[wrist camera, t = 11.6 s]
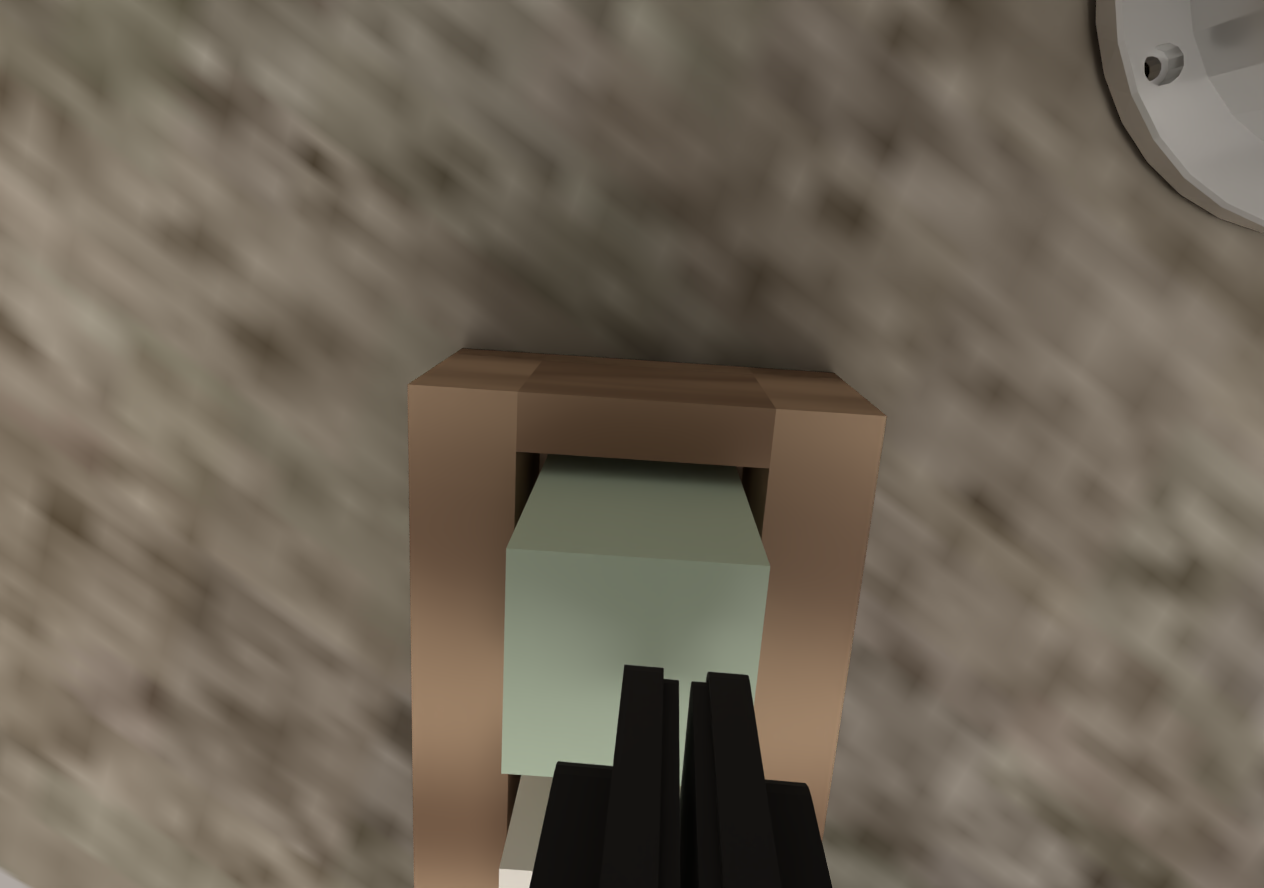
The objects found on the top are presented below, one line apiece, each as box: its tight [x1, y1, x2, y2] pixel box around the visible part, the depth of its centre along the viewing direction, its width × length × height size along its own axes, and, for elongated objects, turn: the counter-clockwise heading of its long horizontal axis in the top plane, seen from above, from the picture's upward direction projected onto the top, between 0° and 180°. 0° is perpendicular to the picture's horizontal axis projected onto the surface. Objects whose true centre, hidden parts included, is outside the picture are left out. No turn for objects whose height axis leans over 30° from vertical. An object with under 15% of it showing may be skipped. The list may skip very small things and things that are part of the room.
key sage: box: [501, 454, 770, 786], centre depth 17 cm, size 4×4×7 cm
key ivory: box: [499, 775, 681, 888], centre depth 19 cm, size 4×4×7 cm
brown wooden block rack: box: [408, 348, 887, 888], centre depth 22 cm, size 21×10×5 cm, turn 176°
